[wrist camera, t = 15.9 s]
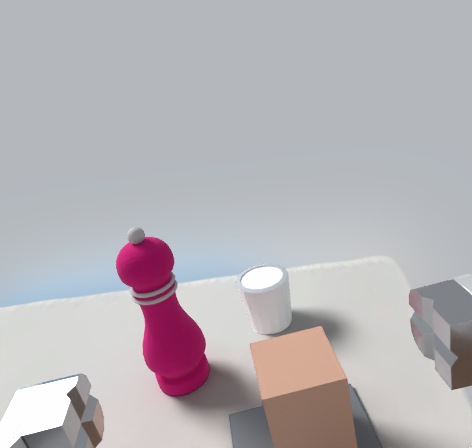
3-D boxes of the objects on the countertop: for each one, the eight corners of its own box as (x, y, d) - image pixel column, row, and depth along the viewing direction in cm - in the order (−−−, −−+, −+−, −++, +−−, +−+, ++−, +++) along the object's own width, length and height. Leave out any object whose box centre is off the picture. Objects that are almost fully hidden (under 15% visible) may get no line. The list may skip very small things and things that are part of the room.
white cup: (273, 344, 53) (263, 298, 50) (236, 326, 58) (224, 283, 55) (307, 314, 57) (298, 270, 54) (269, 300, 61) (259, 258, 59)
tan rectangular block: (284, 487, 36) (261, 399, 32) (270, 423, 42) (249, 343, 38) (360, 467, 36) (347, 378, 32) (334, 406, 42) (321, 325, 38)
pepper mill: (211, 349, 54) (168, 207, 47) (216, 390, 48) (167, 233, 40) (156, 363, 54) (104, 223, 46) (153, 407, 47) (91, 252, 40)
